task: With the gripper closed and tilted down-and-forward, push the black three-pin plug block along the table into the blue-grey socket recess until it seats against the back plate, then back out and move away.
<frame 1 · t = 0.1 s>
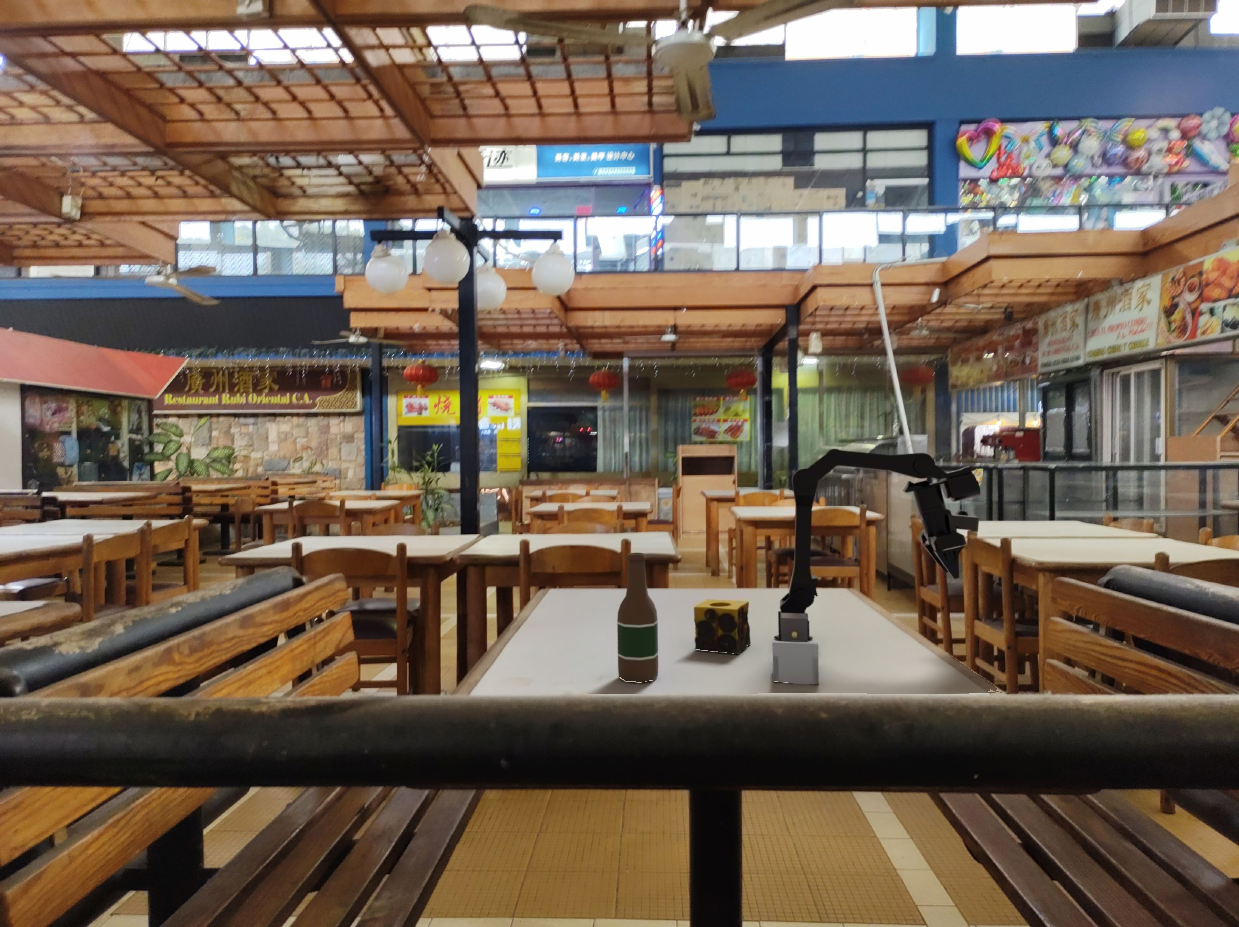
hand: (951, 575, 160), 15 cm above the table, tool pointing down, fingers open, 9 cm apart
plug: (794, 641, 144), point 5 cm above the table, slide at 7.0 cm
beer bottle: (638, 679, 138), on the table
socket: (795, 675, 138), on the table
yellow and black cube: (723, 649, 160), on the table
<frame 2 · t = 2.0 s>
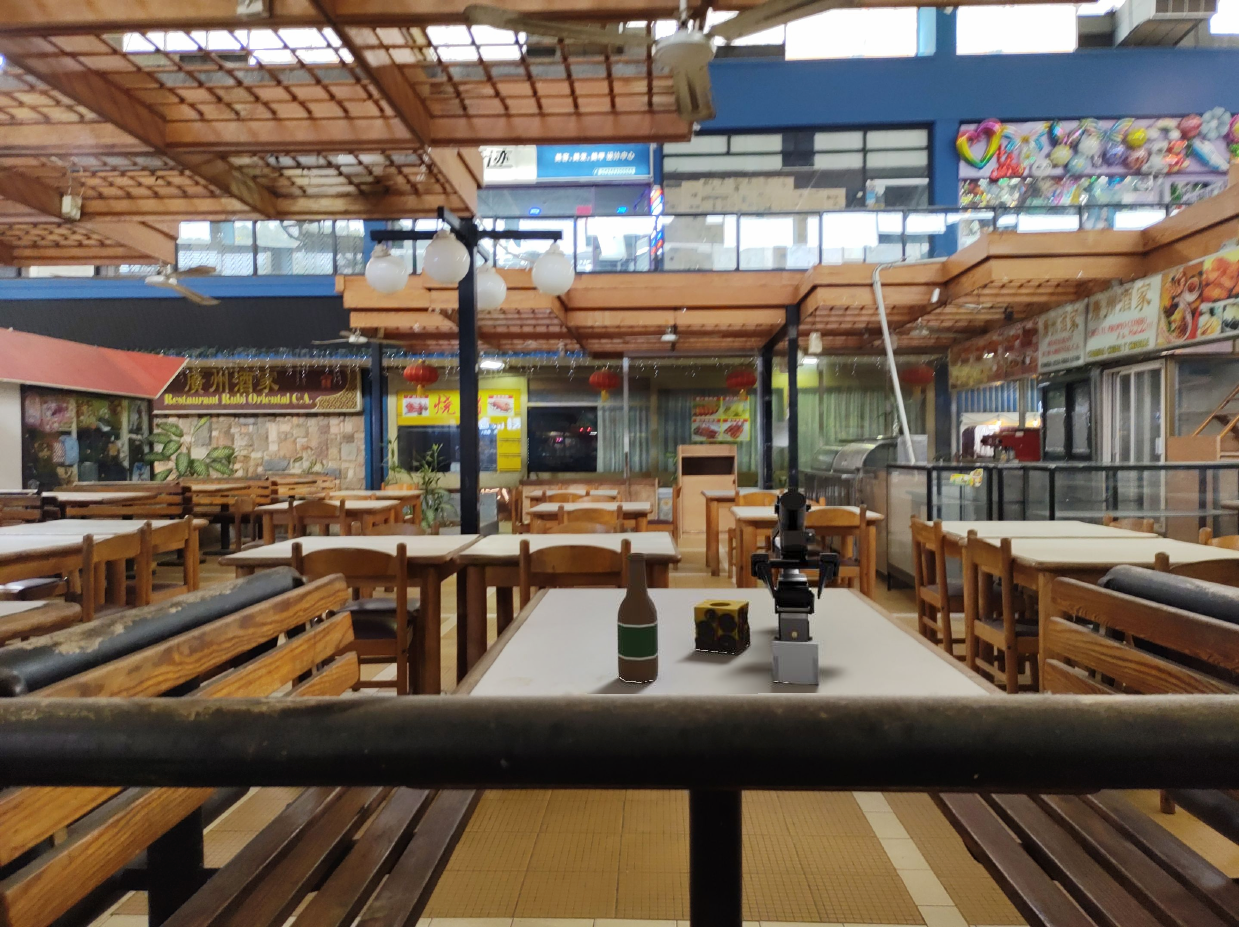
hand: (796, 597, 151), 13 cm above the table, tool tilted 45°, fingers open, 9 cm apart
nothing on the table moved.
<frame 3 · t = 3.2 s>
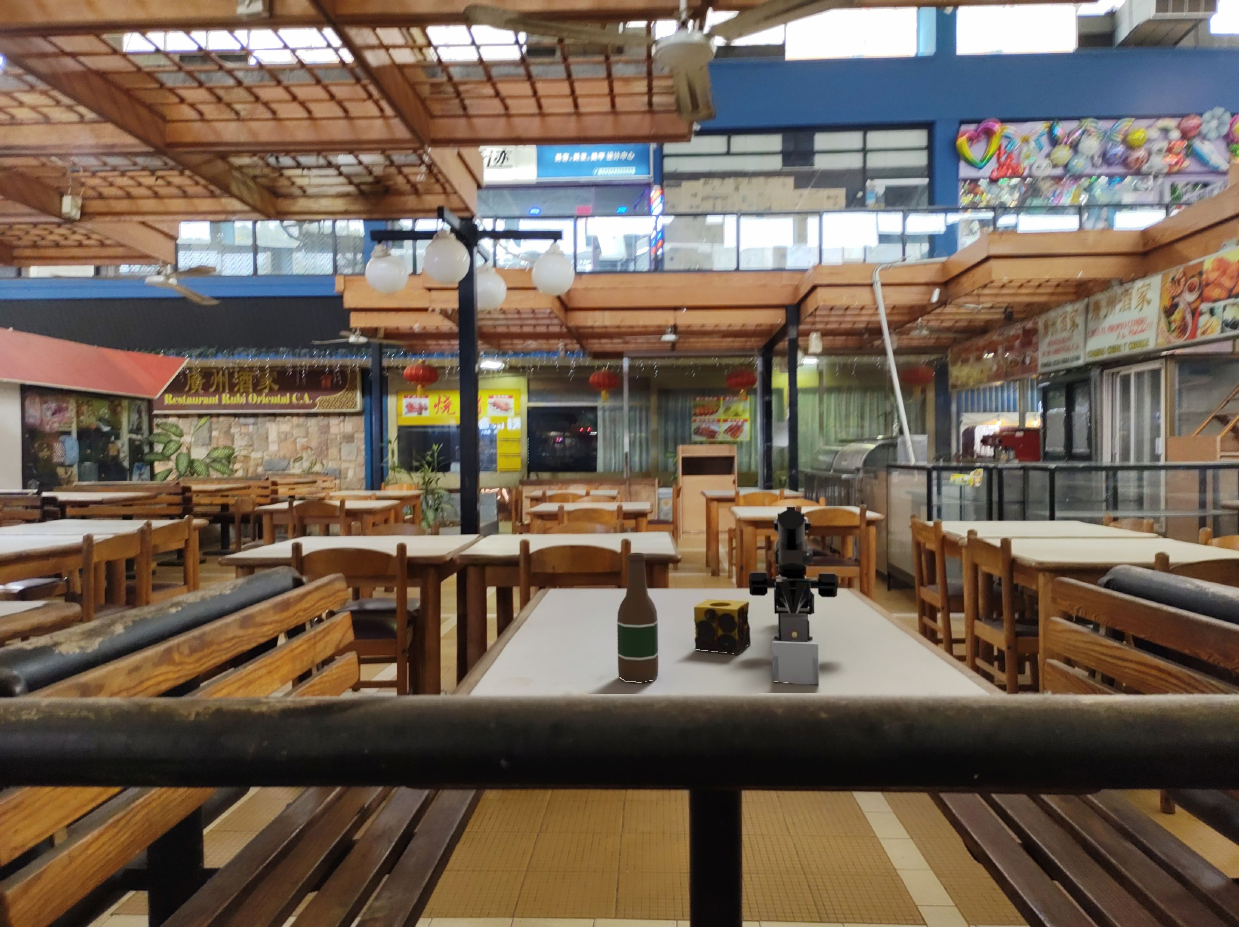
hand: (793, 617, 151), 8 cm above the table, tool tilted 45°, fingers closed
nothing on the table moved.
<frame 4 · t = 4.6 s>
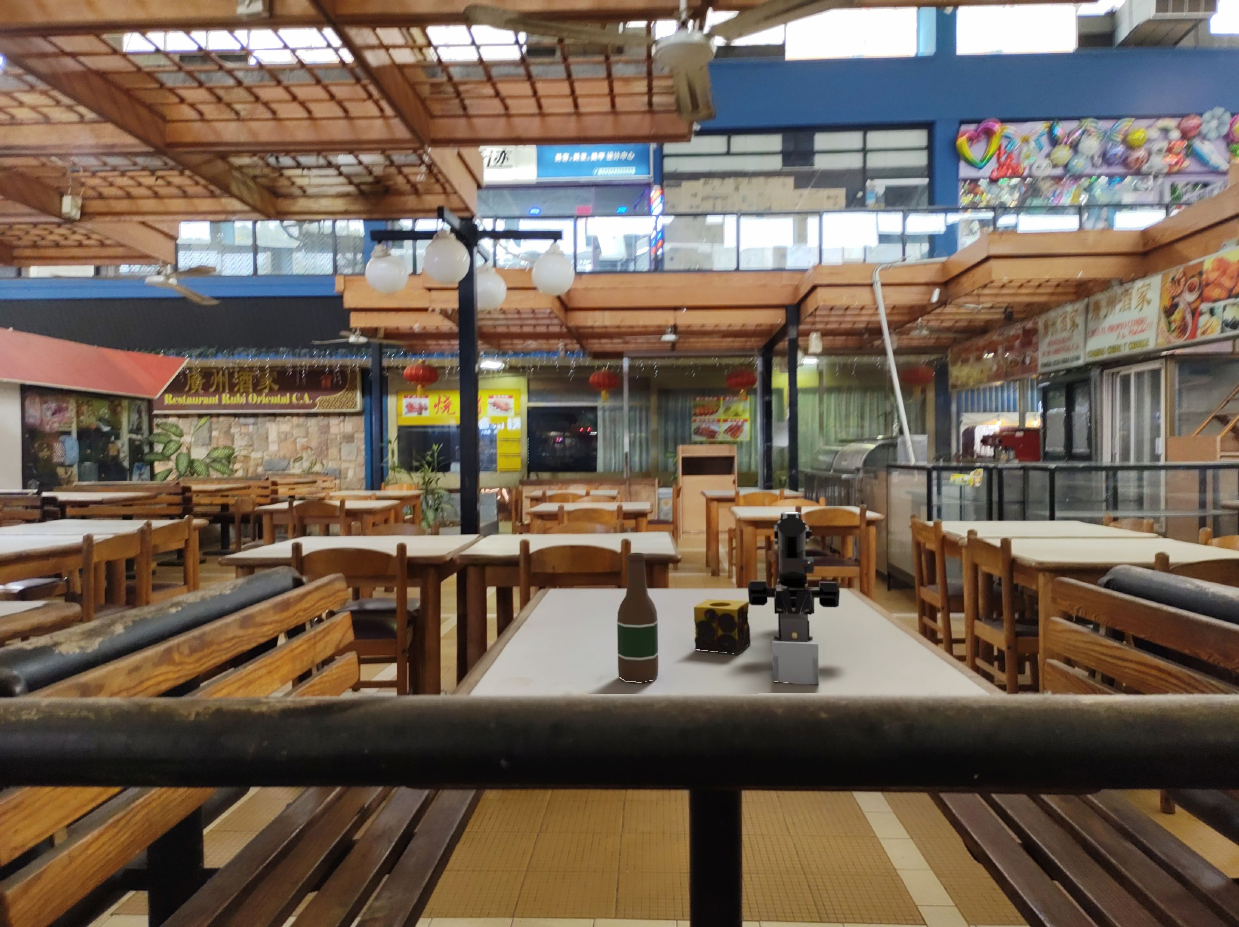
hand: (794, 627, 147), 7 cm above the table, tool tilted 45°, fingers closed, pressing on plug
plug: (794, 642, 144), point 5 cm above the table, slide at 6.3 cm, touching gripper
everything else where it was.
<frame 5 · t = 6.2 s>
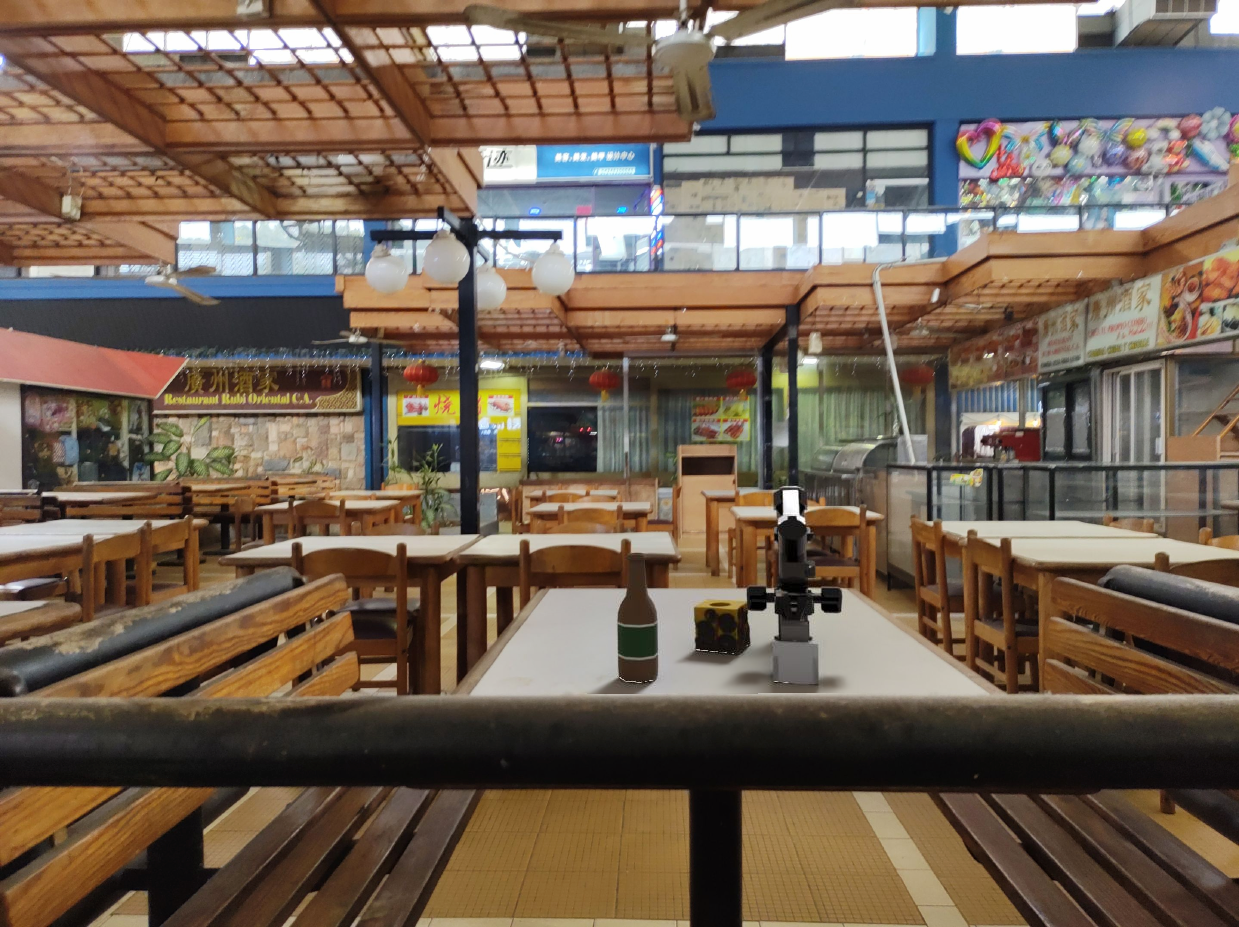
hand: (794, 635, 140), 7 cm above the table, tool tilted 45°, fingers closed, pressing on plug
plug: (795, 650, 137), point 5 cm above the table, slide at -0.2 cm, touching gripper
everything else where it was.
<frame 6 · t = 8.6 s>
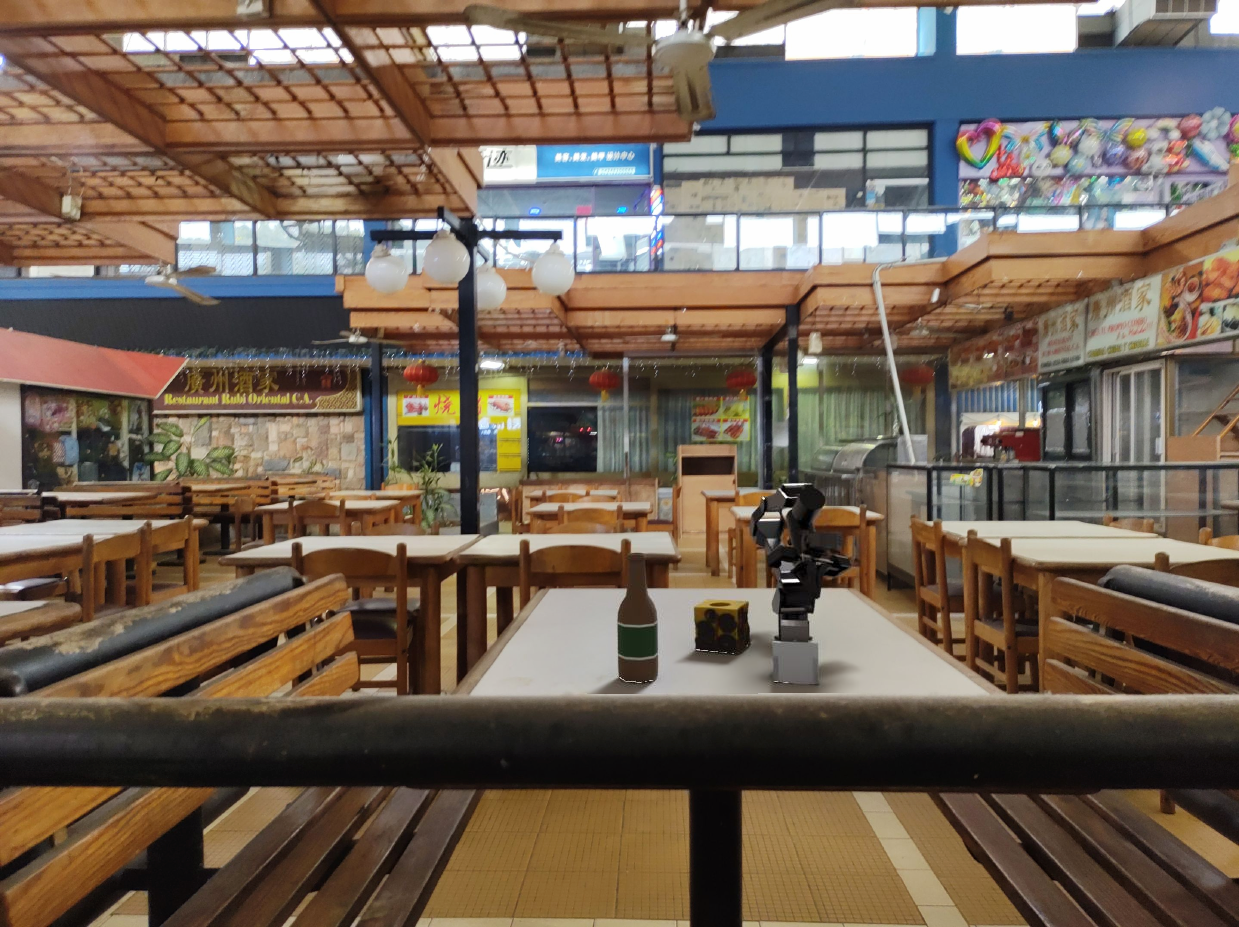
hand: (817, 598, 151), 12 cm above the table, tool tilted 35°, fingers closed
plug: (794, 649, 137), point 5 cm above the table, slide at 0.0 cm
everything else where it was.
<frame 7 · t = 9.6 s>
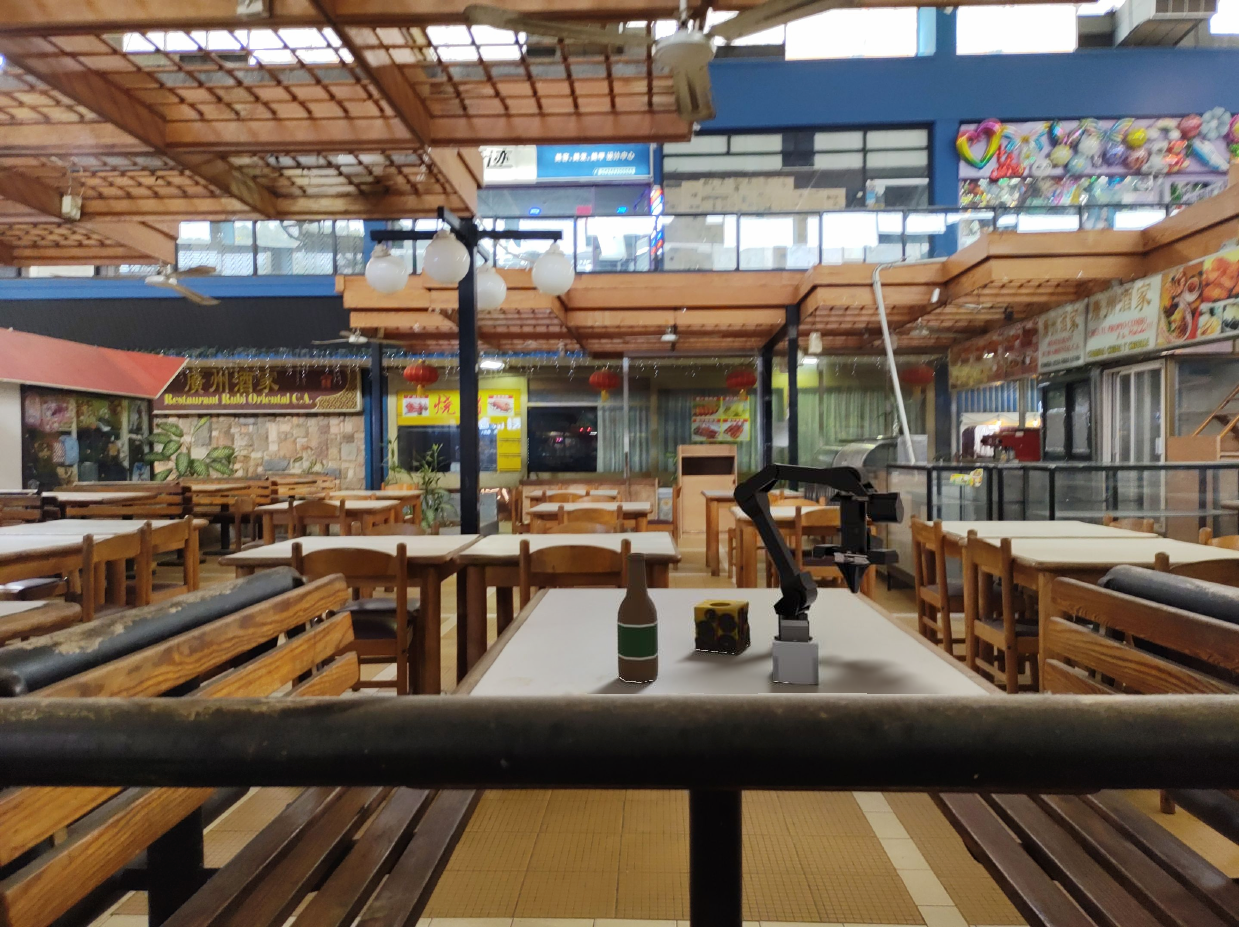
hand: (854, 593, 158), 12 cm above the table, tool pointing down, fingers closed
nothing on the table moved.
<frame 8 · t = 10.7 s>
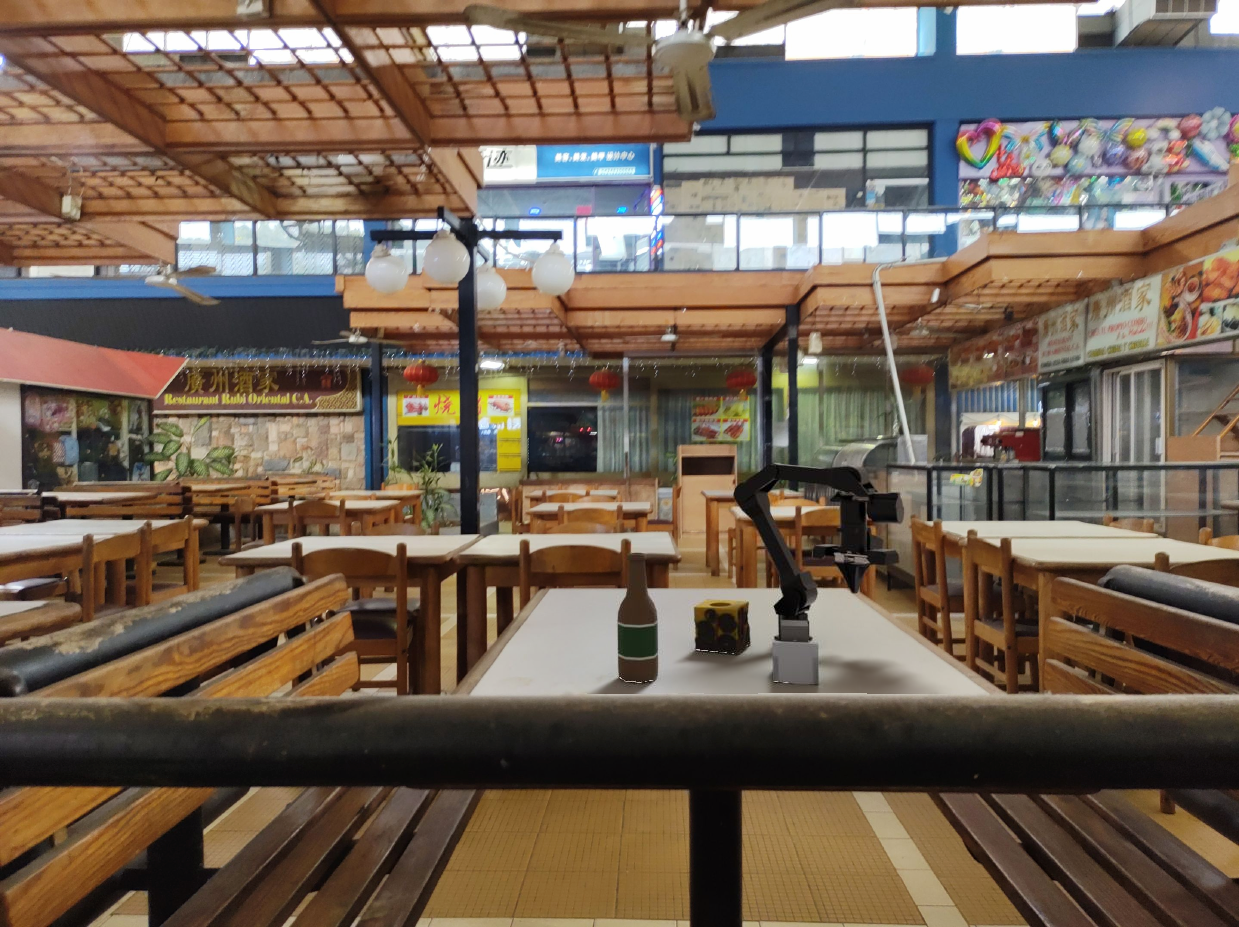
hand: (854, 593, 158), 12 cm above the table, tool pointing down, fingers closed
nothing on the table moved.
at the end: plug slide at 0.0 cm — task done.
